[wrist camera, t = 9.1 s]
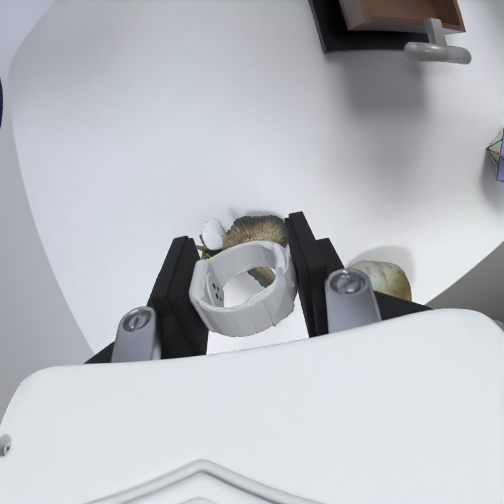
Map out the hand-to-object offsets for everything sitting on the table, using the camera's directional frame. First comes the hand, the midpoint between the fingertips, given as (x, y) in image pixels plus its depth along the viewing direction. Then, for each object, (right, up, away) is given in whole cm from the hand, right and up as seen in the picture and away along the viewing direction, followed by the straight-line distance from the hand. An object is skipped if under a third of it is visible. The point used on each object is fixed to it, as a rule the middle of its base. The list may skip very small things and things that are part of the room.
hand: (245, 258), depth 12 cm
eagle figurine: (0, +2, +19) cm, 19 cm away
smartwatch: (0, 0, 0) cm, 1 cm away
